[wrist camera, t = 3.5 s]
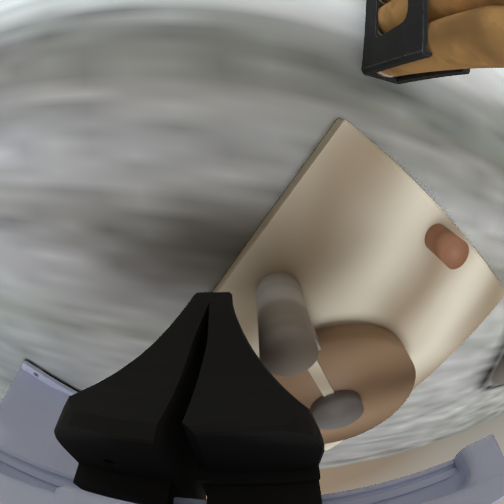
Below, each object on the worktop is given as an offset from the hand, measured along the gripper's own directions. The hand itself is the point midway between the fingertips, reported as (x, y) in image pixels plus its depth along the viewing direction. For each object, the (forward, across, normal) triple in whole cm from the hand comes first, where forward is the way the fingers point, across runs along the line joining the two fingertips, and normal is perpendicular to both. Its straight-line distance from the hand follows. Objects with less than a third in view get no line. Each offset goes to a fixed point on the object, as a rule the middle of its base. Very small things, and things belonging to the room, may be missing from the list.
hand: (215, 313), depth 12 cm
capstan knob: (+2, -5, +6) cm, 8 cm away
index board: (+3, -6, +5) cm, 9 cm away
